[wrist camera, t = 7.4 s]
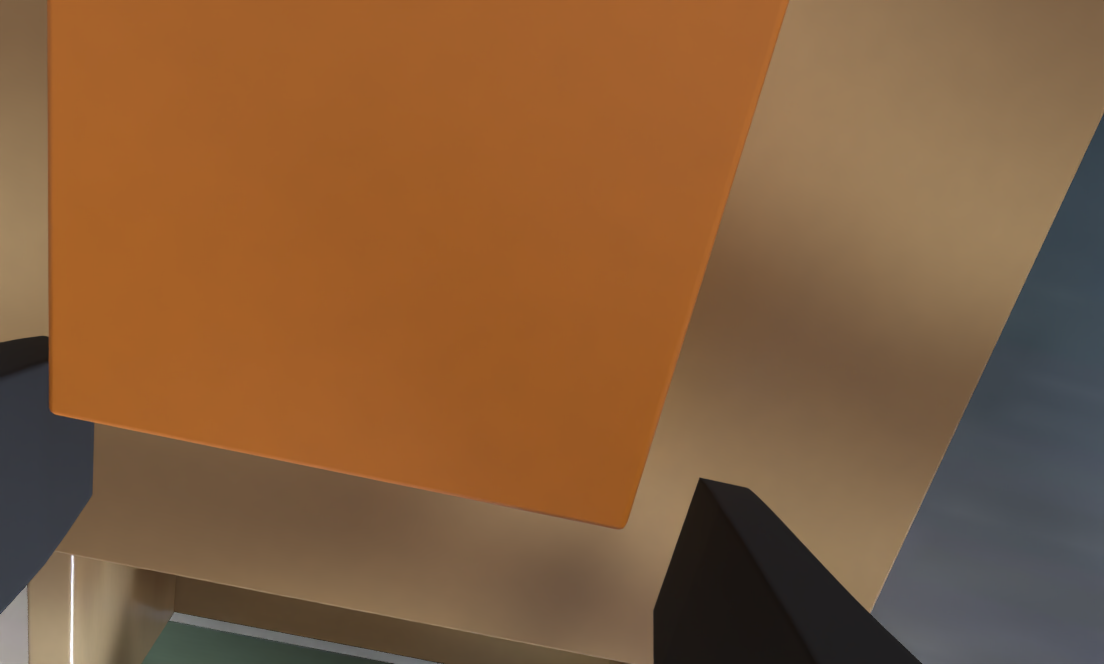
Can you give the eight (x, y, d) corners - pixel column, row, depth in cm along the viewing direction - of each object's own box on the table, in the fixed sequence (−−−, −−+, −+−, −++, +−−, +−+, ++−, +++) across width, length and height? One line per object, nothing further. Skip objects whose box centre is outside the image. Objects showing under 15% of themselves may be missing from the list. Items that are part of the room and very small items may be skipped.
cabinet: (741, 457, 20) (830, 704, 13) (136, 328, 20) (-111, 521, 12) (970, -175, 15) (1304, -312, 8) (164, -388, 14) (-227, -744, 7)
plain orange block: (606, 322, 11) (625, 534, 7) (254, 246, 11) (44, 416, 6) (708, -55, 9) (820, -91, 5) (292, -159, 9) (40, -289, 5)
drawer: (592, 843, 24) (598, 1086, 19) (126, 759, 24) (-7, 987, 18) (776, 324, 18) (862, 465, 13) (150, 184, 17) (-40, 273, 12)
